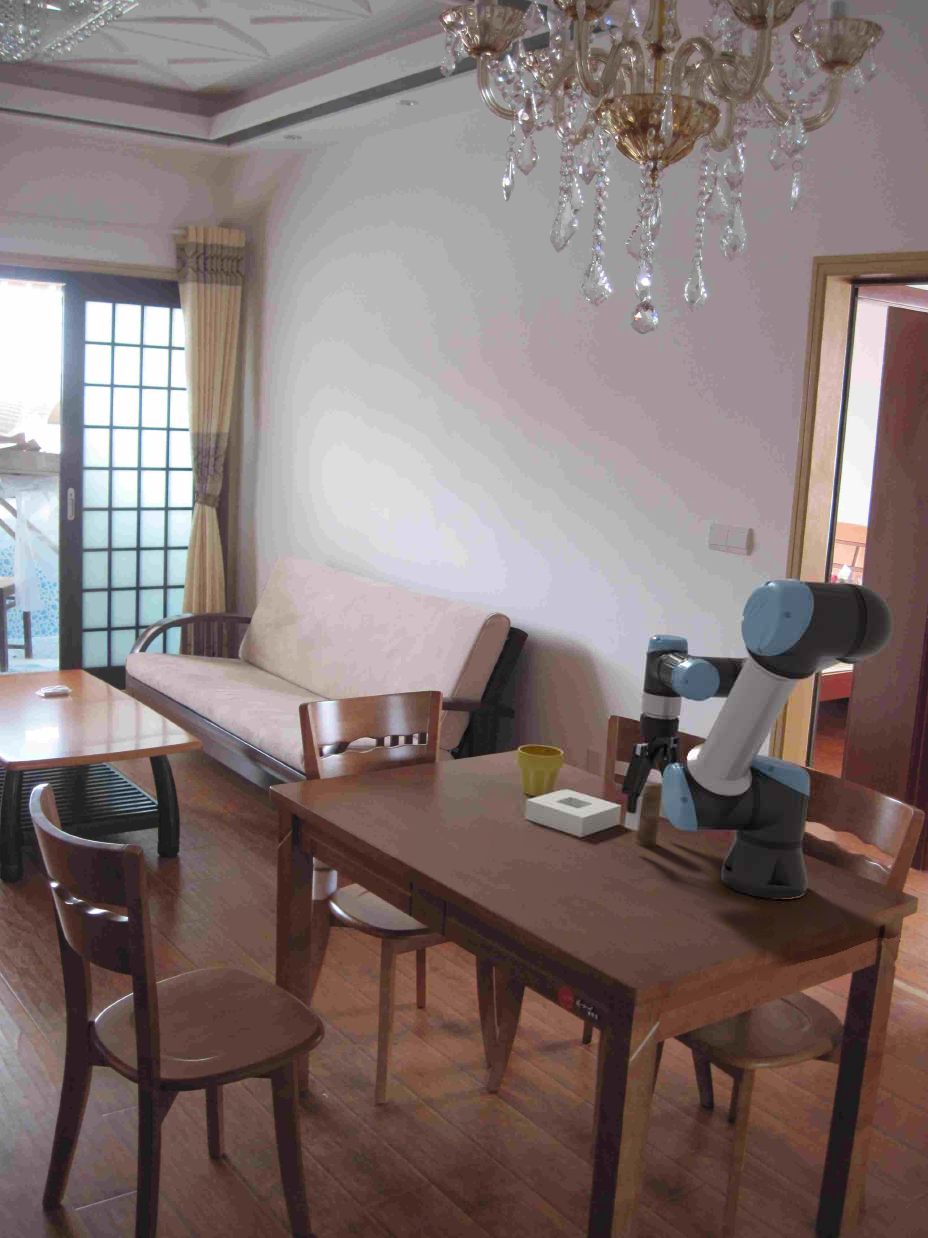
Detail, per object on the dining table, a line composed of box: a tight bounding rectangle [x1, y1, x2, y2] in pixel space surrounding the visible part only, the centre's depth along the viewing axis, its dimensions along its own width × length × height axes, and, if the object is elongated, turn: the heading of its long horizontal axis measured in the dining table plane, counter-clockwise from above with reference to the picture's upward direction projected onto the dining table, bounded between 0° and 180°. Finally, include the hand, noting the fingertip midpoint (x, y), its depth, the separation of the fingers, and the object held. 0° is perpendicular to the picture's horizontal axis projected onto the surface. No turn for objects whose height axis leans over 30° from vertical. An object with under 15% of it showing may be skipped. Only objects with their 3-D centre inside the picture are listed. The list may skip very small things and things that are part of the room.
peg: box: [635, 781, 662, 848], centre depth 226 cm, size 4×4×12 cm
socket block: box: [524, 788, 622, 838], centre depth 237 cm, size 14×14×4 cm
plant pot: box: [516, 744, 565, 797], centre depth 255 cm, size 10×10×10 cm
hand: (647, 822), depth 226 cm, fingers open, 11 cm apart
